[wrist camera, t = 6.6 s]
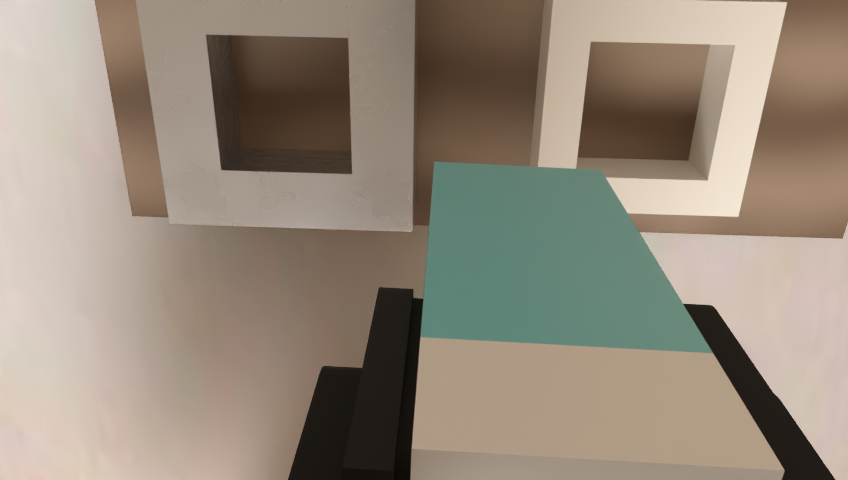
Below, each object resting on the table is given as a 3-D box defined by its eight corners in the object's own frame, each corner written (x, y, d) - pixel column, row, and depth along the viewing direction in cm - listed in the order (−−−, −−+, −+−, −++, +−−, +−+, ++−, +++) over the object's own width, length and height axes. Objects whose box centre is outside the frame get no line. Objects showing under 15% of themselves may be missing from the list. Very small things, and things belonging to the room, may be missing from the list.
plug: (578, 314, 16) (705, 704, 8) (427, 305, 16) (401, 685, 8) (601, 169, 15) (784, 470, 7) (434, 161, 15) (411, 448, 7)
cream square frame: (716, 194, 30) (738, 216, 28) (527, 188, 30) (533, 210, 28) (758, -5, 26) (787, 2, 24) (544, -10, 27) (553, -3, 24)
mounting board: (826, 225, 32) (842, 238, 31) (145, 203, 33) (132, 215, 31) (906, -57, 27) (931, -56, 25) (100, -72, 28) (82, -72, 26)
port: (416, 204, 31) (412, 231, 28) (194, 197, 31) (169, 223, 28) (419, -37, 26) (415, -32, 24) (163, -43, 27) (129, -39, 24)
